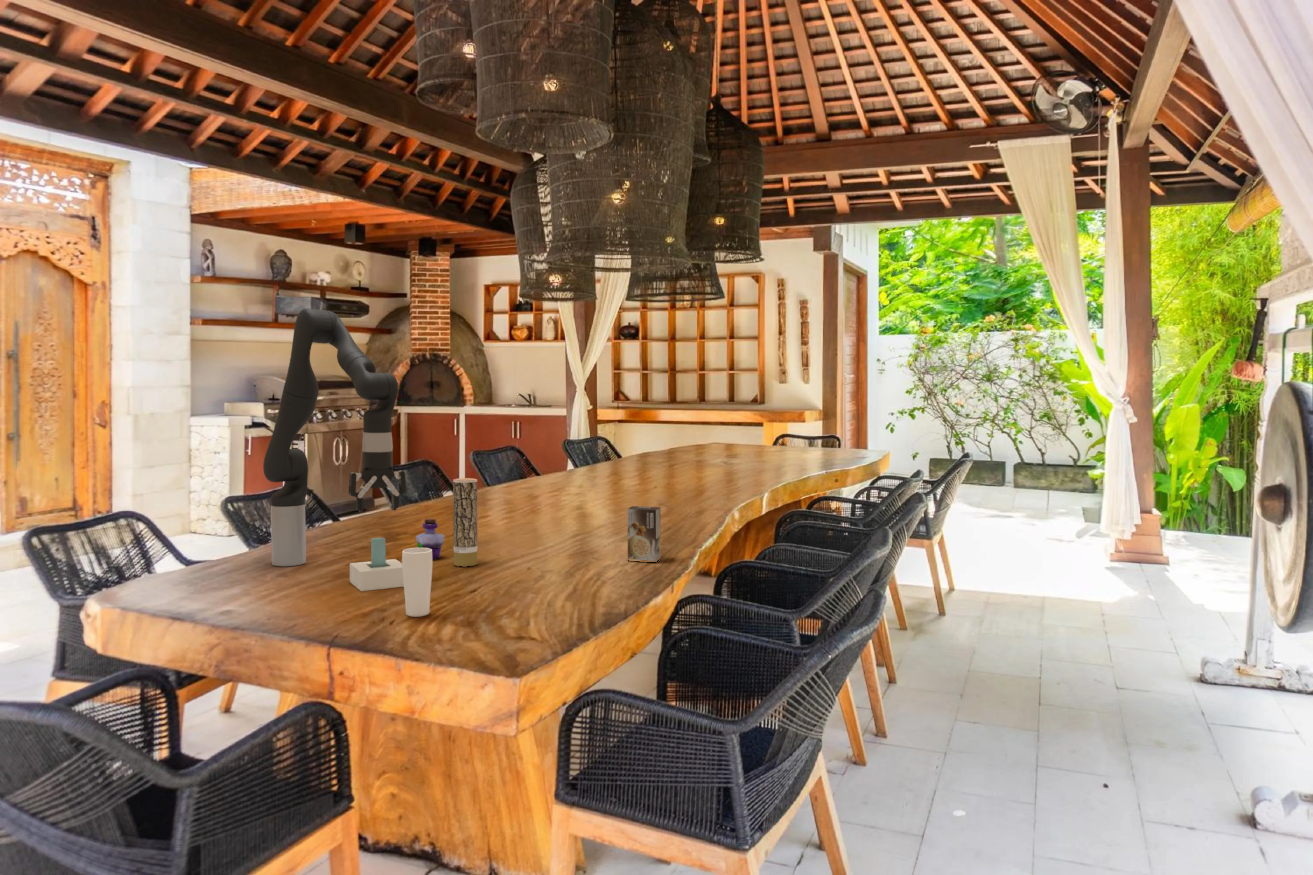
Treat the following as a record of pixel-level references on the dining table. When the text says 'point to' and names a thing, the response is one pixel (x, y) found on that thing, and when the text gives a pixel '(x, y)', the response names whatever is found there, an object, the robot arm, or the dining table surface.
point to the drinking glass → (417, 580)
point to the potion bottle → (431, 538)
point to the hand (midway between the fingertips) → (377, 511)
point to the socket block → (376, 575)
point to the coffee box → (644, 533)
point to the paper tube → (465, 521)
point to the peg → (378, 552)
